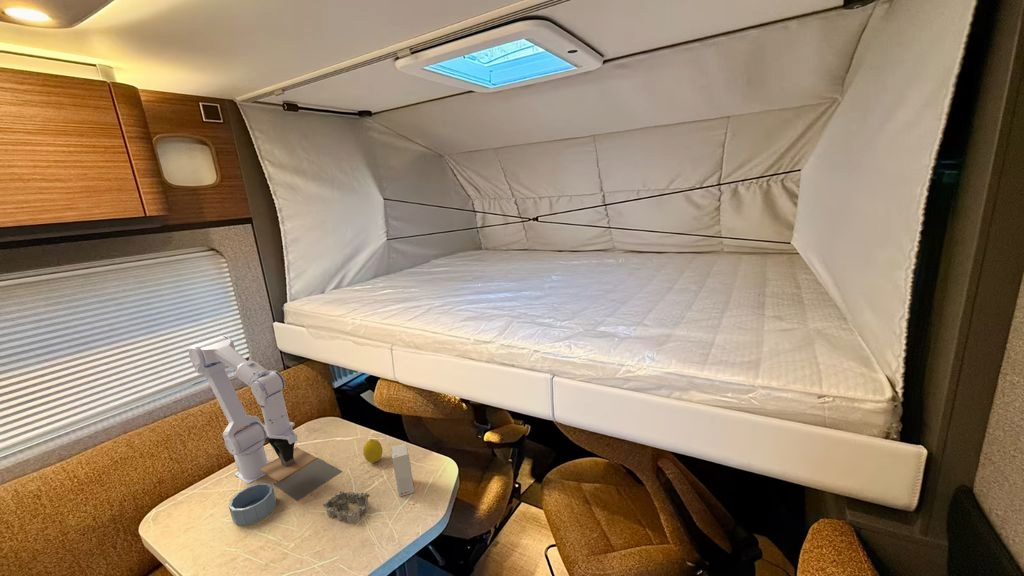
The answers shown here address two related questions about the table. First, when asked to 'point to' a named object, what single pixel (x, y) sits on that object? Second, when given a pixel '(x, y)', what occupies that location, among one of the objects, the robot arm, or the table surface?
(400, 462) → the skincare box
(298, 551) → the table surface
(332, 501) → the grey lumpy curved piece
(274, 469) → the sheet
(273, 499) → the bowl
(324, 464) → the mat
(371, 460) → the lemon
